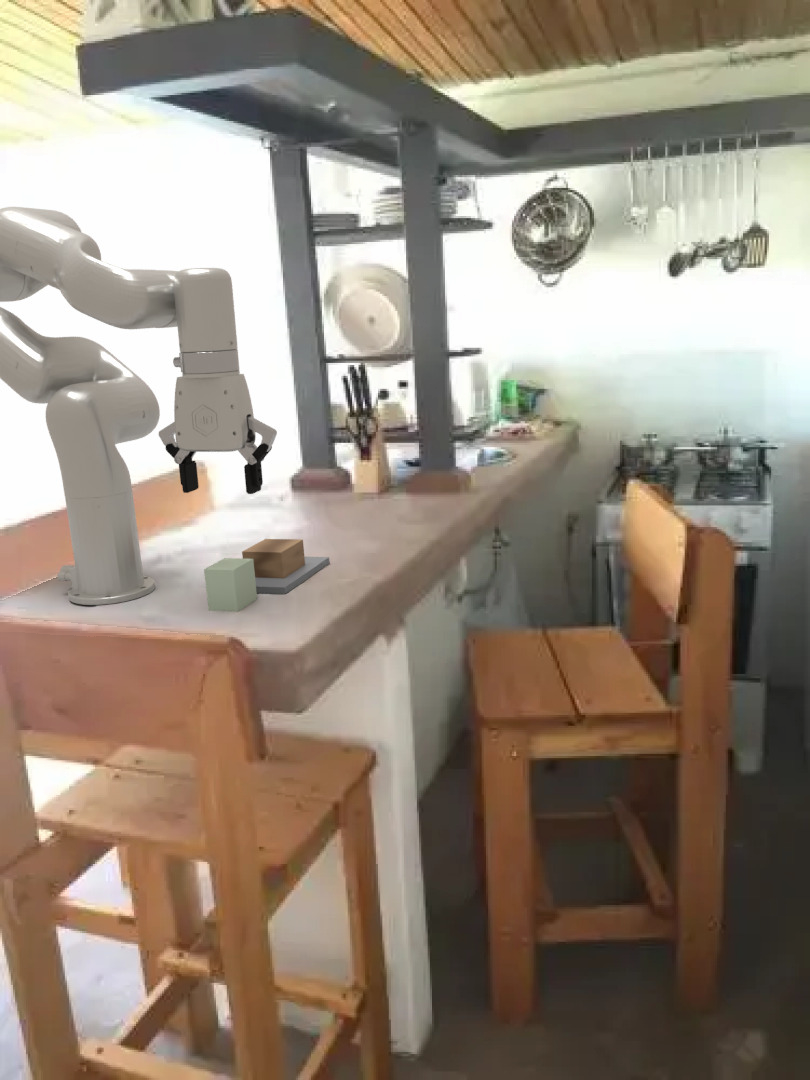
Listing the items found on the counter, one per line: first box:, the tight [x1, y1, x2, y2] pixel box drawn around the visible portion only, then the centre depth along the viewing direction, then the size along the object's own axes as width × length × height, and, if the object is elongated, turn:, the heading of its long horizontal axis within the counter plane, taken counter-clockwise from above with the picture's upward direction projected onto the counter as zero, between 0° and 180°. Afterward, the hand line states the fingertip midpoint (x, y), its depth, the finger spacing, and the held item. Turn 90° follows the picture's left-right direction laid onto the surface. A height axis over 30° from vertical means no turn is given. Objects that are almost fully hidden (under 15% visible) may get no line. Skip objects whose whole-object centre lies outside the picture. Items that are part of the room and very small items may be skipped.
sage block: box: [203, 557, 258, 613], centre depth 132 cm, size 4×6×6 cm
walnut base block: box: [241, 538, 306, 578], centre depth 144 cm, size 6×8×4 cm
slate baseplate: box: [255, 556, 330, 595], centre depth 145 cm, size 11×17×1 cm, turn 162°
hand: (222, 491), depth 128 cm, fingers open, 9 cm apart
